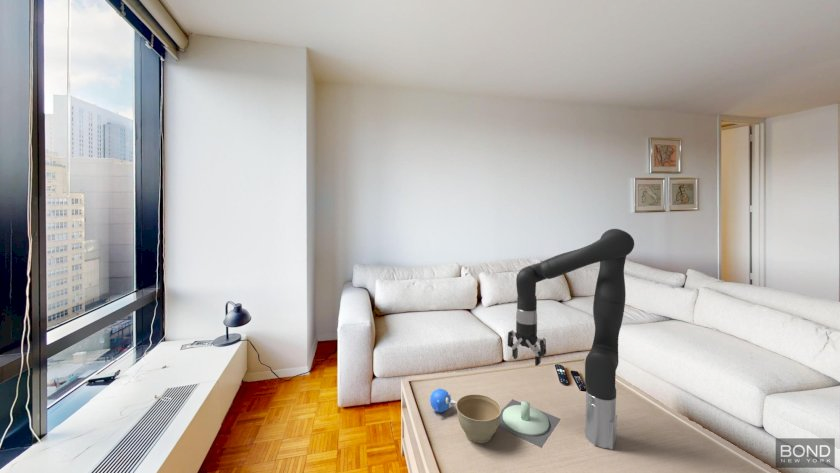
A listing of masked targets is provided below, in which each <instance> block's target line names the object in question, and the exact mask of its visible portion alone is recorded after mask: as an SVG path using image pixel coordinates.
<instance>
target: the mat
mask: <svg viewBox="0 0 840 473" xmlns="http://www.w3.org/2000/svg"><path fill="white" fill-rule="evenodd" d="M521 402H522V401H521ZM521 402H520V401H518V400H515V399H511V400H510V401H508V403H507V404H506V405H505V406H504V407H503V408H501V415H500V422H499V426H498V428H500V429H502V430H504V431H506V432H507V433H510V434H512V435H514V436H516V437H518V438H520V439H523V440H525V441H527V442H529V443H531V444H533V445H534V446H537V447H538V448H542V447H543V446H544V445H545V443H546V441H547V440H548V438H549V437H550V435H551V434H552V432H553V431H554V430H555V428H556V427H557V426H558V423H559V422H560V421H561V418H560V417H557V416H555V415H553V414H550V413H547V412H545V411H543V410H540V409H537V408H536V409H537V410H539V411H541V412H542V413H543V414H544V415H545V416H546V417H547V419H548V421H549V428H548V430H547V431H546V432H545V433H544V434H542V435H538V436H527V435H522V434H519V433H517V432H515V431H513V430H511V429H510V428H508V427H507V426H506V424H505V423H504V421H503V412H504V410H505V409H506V408H508V407H510V406H513V405H521Z"/></svg>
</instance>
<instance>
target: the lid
mask: <svg viewBox="0 0 840 473" xmlns="http://www.w3.org/2000/svg"><path fill="white" fill-rule="evenodd" d="M539 410H540V409H538V410H537V408H535V407H532V406H531V403H530V402H529V401H526V400H522V401H521V405H513V406H510V407H508V408H506V409H505V410H504V412H503V421H504V423H505V424H506V426H507V427H508V428H510V429H511V430H513V431H515V432H517V433H519V434H522V435H527V436H538V435H542V434H544V433H545V432H546V431H547V430H548V428H549V421H548V419H547V417H546V416H545V415H544V414H543V413H542V412H541V411H542V410H540V411H539Z"/></svg>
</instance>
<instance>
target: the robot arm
mask: <svg viewBox="0 0 840 473" xmlns="http://www.w3.org/2000/svg"><path fill="white" fill-rule="evenodd" d="M634 247H635V241H634V238H633V236H632V235H631V234H629V233H628V232H627V231H625V230H622V229H619V228H611V229H608V230H605V232H604V233H602V235H601V236H600V238H599V239H598V240H596V241H594V242H592V243H591V244H588V245H586V246H583V247H581V248H577V249H574V250H569V251H567V252H563V253H559V254H557V255H554V256H552V257H550V258H547V259H544V260H543V261H540V262H537V263H535V264H530V265H527V266H525V267H523V268H521V269H520V270H519V271H518V273H517V275H516V278H515V279H516V281H515V283H516V285H515V286H516V293H517V298H516V301H517V302H516V308H517V309H516V315H515V321H516V323H515V328H516V329H515V330H516V331H514V330H510V331H509V332H507V346H508V347H510V349H512V350H511V352H512V353H511V355H512V356H511V357H513V359H514V360H517V359H518V353H519V351H518V350H519V348H518V347H519V346H522V347H526V348H528V349H530V350H531V351H532V352H533V353H534V354H535V357H534V358H535V359H534V361H535V363H534V366H536V367H538V366H539V365H540V364H541V361H542V360H541V359H542V358H541V357H544V356H545V355H546V354H547V343H546V342H547V341H546V340H547V339H546V338H545V337H543V338H539V337H538V335H537V334H538V311H537V308H538V307H537V306H538V305H537V304H538V302H537V295H536V294H537V290H536V289H537V288H536V287H537V283H539V282H541V281H544V280H551V279H555V278H557V277H560V276H563V275H566V274H567V273H570V272H573V271H576V270H578V269H582V268H584V267H587V266H590V265H592V264H596V263H599V271H598V275H597V279H596V284H595V289H594V294H593V295H594V297H593V302H592V304H593V306H592V315H593V321H594V329H595V330H594V335H593V342H592V346H591V348H590V350H589V352H588V354H587V356H586V357H585V362H584V383H585V386H586V388H585V419H584V426H585V427H584V435H585V438H586V439H587V441H588V442H590V443H591V444H593V445H594V446H596V447H599V448H602V449H610V450H614V447H615V445H616V442H617V421H618V415H617V414H616V410H617V388H616V374H617V372H616V371H617V368H618V366H619V334H620V331H621V328H622V324H623V319H624V314H625V306H626V296H627V295H626V282H625V281H626V280H625V265H626V259H627V256H628V255H630V254H631V253H632V251H633V250H634ZM514 337H515V339H516V340H517V341H516V342H515V343H514Z"/></svg>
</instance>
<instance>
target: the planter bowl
mask: <svg viewBox="0 0 840 473" xmlns="http://www.w3.org/2000/svg"><path fill="white" fill-rule="evenodd" d="M456 402H457V404H456V405H455V406H456V413H457V420H458V422H459V425H460V427H461V429H462V430H463V432H464V434H465V437H466V438H467V439H468V440H469V441H471V442H472V443H473V442H474V443H476V444H484V443H487V442H489V441H490V440H491V439H492V437H493V435H494V434H495V433H496V431H497V430H498V428H499V427H498V426H499V422H500V415H501V410H502V407H501V405H500V403H499V402H498V401H497V400H496V399H494V398H492V397H490V396H488V395H484V394H479V393H478V394H473V393H472V394H466V395H464V396H462V397H460V398H458V400H457V401H456Z"/></svg>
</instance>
